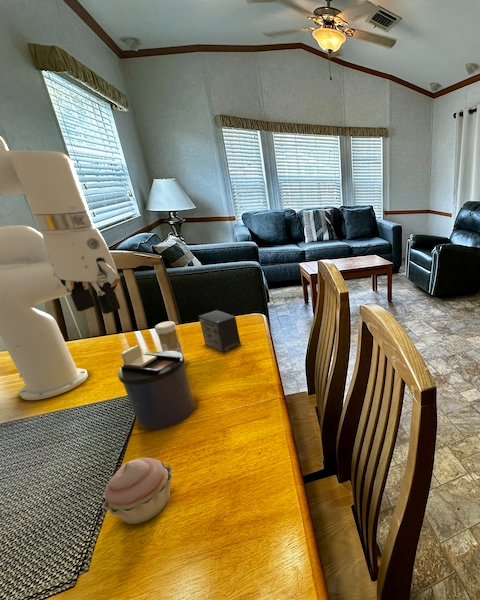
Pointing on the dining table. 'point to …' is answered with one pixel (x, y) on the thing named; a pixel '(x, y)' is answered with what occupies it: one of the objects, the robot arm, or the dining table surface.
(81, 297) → the robot arm
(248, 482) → the dining table surface
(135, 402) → the dark blue canister
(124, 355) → the slider
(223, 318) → the small box
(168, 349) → the sprinkles bottle
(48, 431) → the dining table surface
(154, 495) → the cupcake
